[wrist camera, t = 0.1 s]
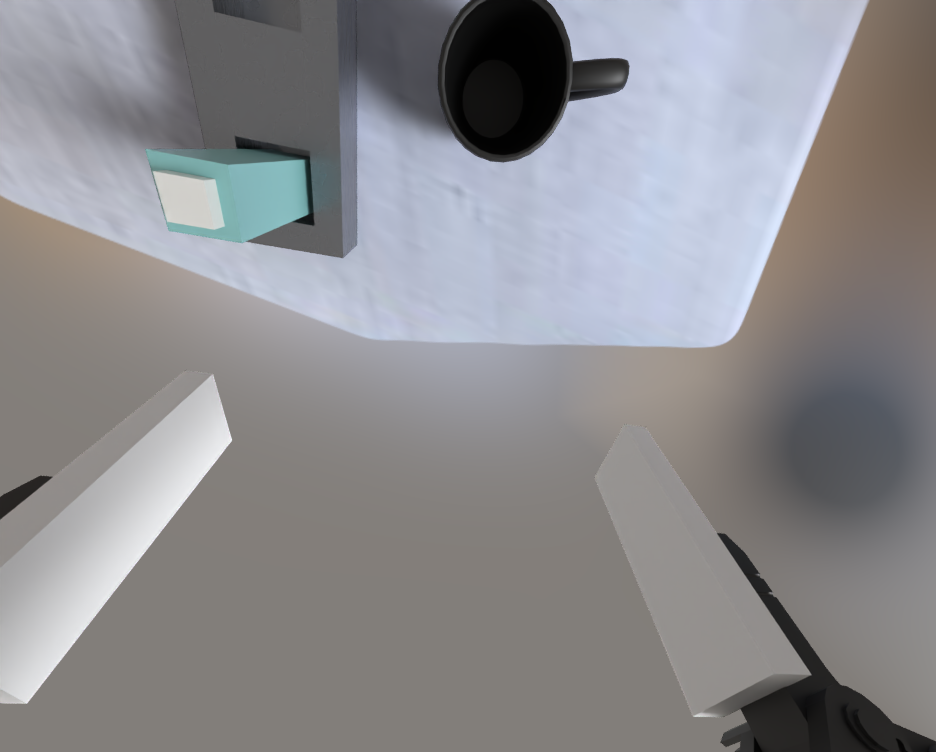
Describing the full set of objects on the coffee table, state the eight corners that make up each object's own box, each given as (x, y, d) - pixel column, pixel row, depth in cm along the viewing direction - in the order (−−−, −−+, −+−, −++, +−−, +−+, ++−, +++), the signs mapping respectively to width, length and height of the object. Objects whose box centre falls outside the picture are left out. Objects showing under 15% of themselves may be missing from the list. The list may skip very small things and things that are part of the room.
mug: (579, 155, 31) (621, 157, 23) (447, 160, 31) (442, 164, 23) (595, 28, 26) (654, -24, 18) (439, 34, 26) (431, -15, 18)
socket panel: (194, -143, 22) (131, -212, 17) (356, -96, 23) (332, -151, 18) (253, 226, 33) (223, 238, 29) (357, 244, 35) (343, 257, 30)
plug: (270, 148, 29) (129, 148, 17) (318, 158, 30) (216, 165, 17) (276, 200, 31) (155, 234, 19) (321, 208, 32) (232, 247, 19)
